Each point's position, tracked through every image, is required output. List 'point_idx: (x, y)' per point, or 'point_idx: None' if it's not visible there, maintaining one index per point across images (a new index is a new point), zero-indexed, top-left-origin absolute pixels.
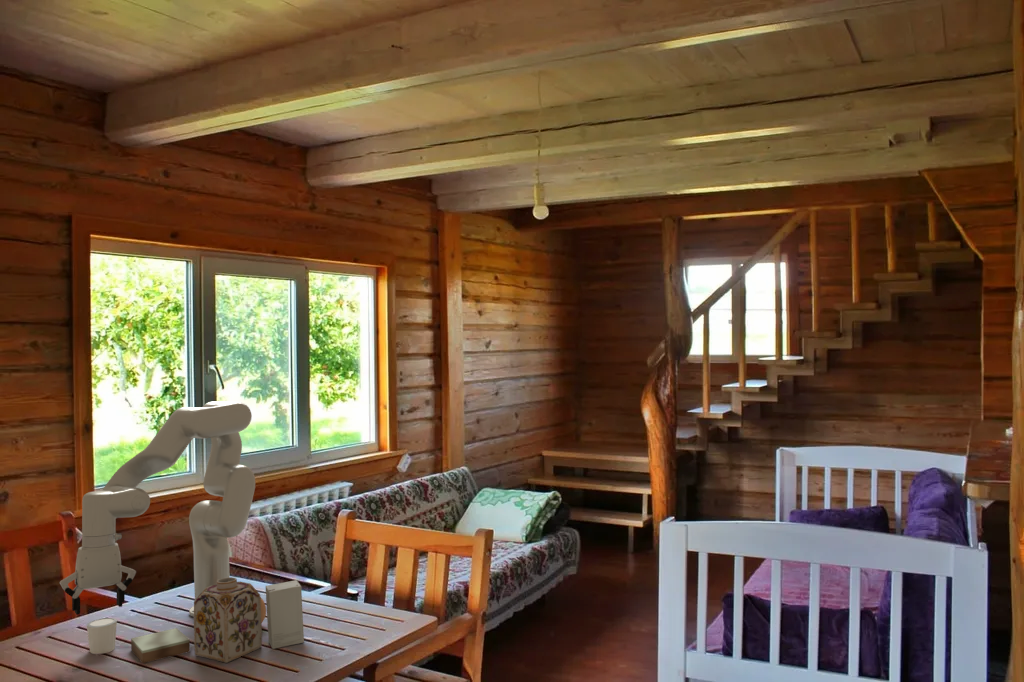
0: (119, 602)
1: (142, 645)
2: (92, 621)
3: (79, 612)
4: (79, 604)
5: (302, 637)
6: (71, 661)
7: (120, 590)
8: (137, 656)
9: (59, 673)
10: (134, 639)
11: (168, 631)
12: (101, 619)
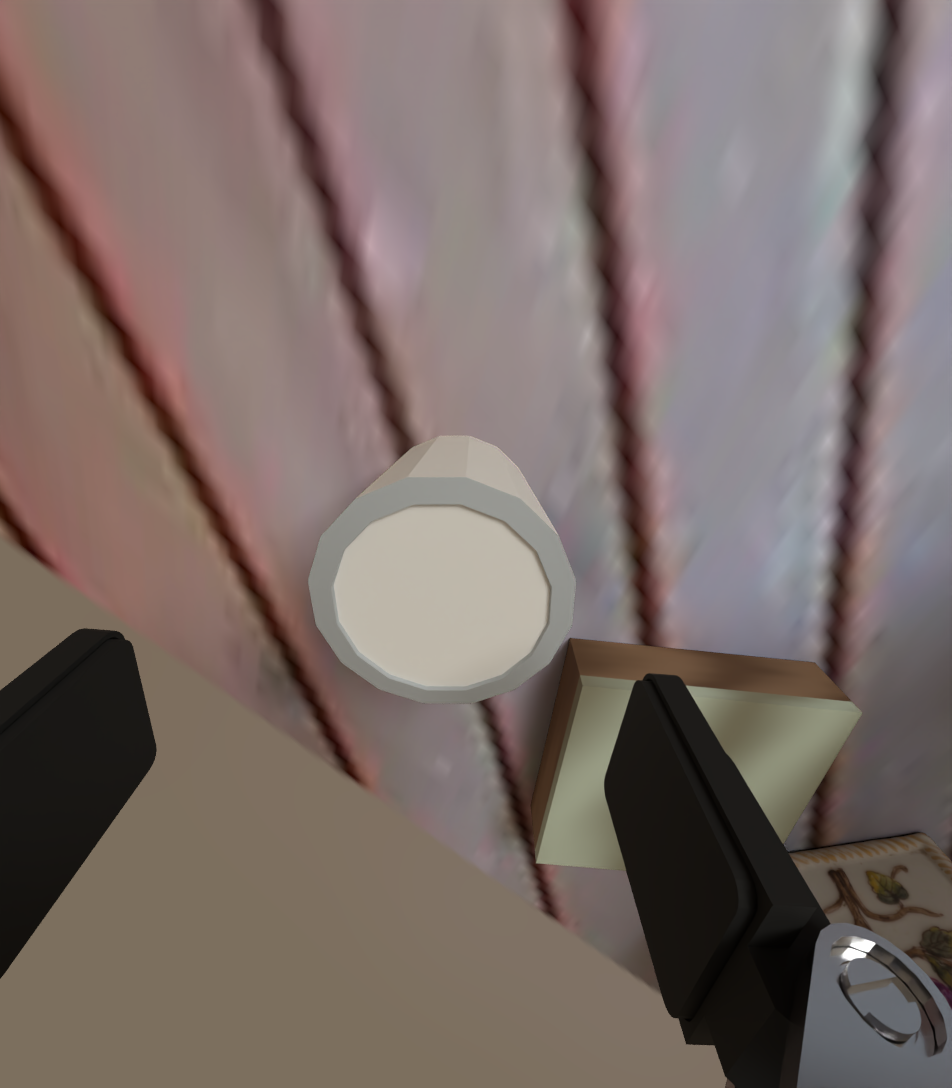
0: (619, 836)
1: (571, 811)
2: (375, 518)
3: (139, 770)
4: (59, 882)
5: None
6: (265, 561)
7: (720, 1019)
8: (546, 741)
9: (198, 673)
10: (586, 715)
11: (790, 730)
12: (469, 508)
